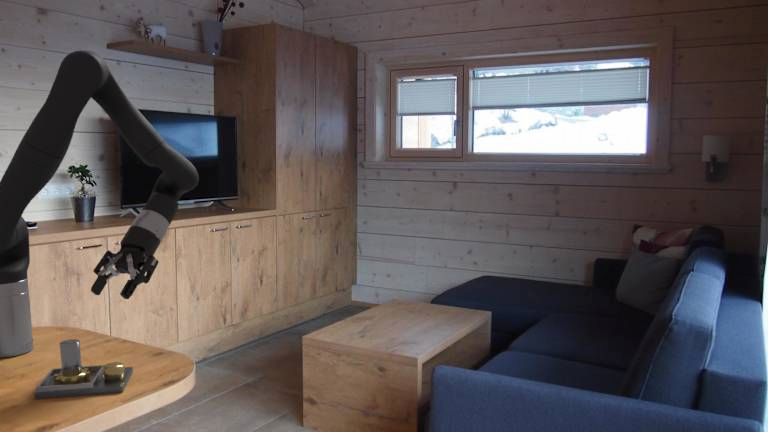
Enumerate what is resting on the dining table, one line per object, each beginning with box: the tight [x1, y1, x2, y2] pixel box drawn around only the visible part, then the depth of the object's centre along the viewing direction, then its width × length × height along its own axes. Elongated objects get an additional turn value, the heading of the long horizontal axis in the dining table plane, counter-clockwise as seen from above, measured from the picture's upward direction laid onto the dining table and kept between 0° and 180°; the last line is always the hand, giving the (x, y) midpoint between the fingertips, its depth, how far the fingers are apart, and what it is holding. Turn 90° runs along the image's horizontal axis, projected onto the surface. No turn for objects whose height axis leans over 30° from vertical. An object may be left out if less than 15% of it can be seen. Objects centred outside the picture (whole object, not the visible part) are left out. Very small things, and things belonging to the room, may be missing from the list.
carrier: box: [34, 361, 134, 400], centre depth 132 cm, size 16×11×4 cm
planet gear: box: [54, 338, 91, 385], centre depth 132 cm, size 7×7×8 cm
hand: (109, 295), depth 140 cm, fingers open, 8 cm apart
